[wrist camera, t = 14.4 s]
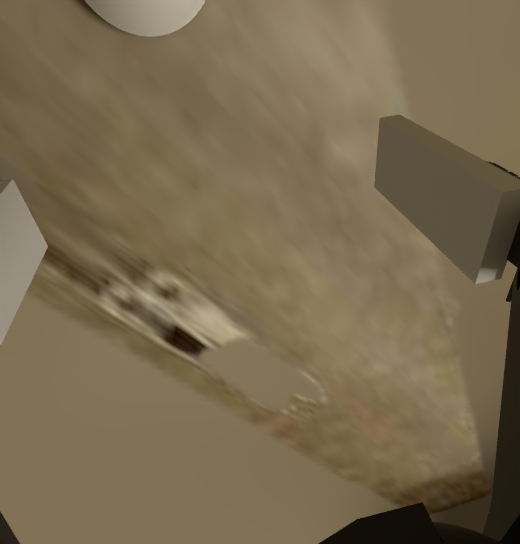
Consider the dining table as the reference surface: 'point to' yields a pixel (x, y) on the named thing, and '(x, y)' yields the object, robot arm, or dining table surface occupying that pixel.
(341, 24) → the dining table surface
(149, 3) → the white dome
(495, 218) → the robot arm
